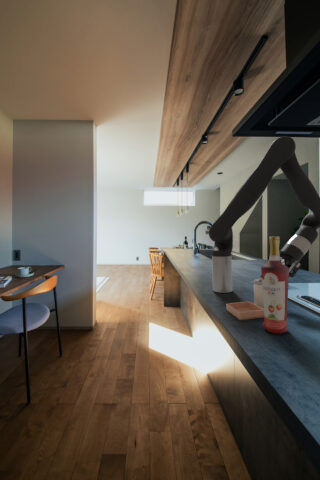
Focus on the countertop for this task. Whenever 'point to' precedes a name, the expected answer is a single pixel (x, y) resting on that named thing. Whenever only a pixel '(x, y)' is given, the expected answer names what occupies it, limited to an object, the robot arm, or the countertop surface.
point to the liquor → (275, 290)
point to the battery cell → (258, 293)
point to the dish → (245, 310)
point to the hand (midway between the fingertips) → (269, 280)
